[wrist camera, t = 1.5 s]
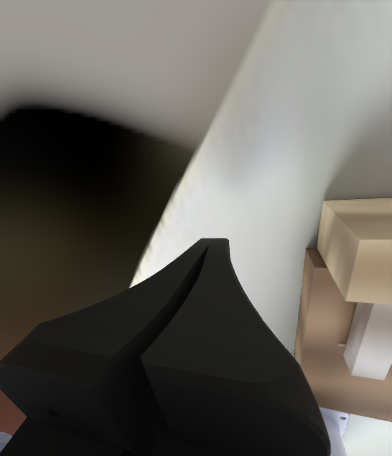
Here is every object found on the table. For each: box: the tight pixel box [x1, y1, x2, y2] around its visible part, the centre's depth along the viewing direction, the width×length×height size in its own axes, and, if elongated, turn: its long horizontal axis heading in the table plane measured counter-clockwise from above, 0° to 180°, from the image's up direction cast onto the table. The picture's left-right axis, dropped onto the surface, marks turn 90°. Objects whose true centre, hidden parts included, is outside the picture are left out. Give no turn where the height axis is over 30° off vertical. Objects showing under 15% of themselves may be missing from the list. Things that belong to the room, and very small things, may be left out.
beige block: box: [317, 198, 392, 380], centre depth 11 cm, size 10×5×4 cm, turn 8°
